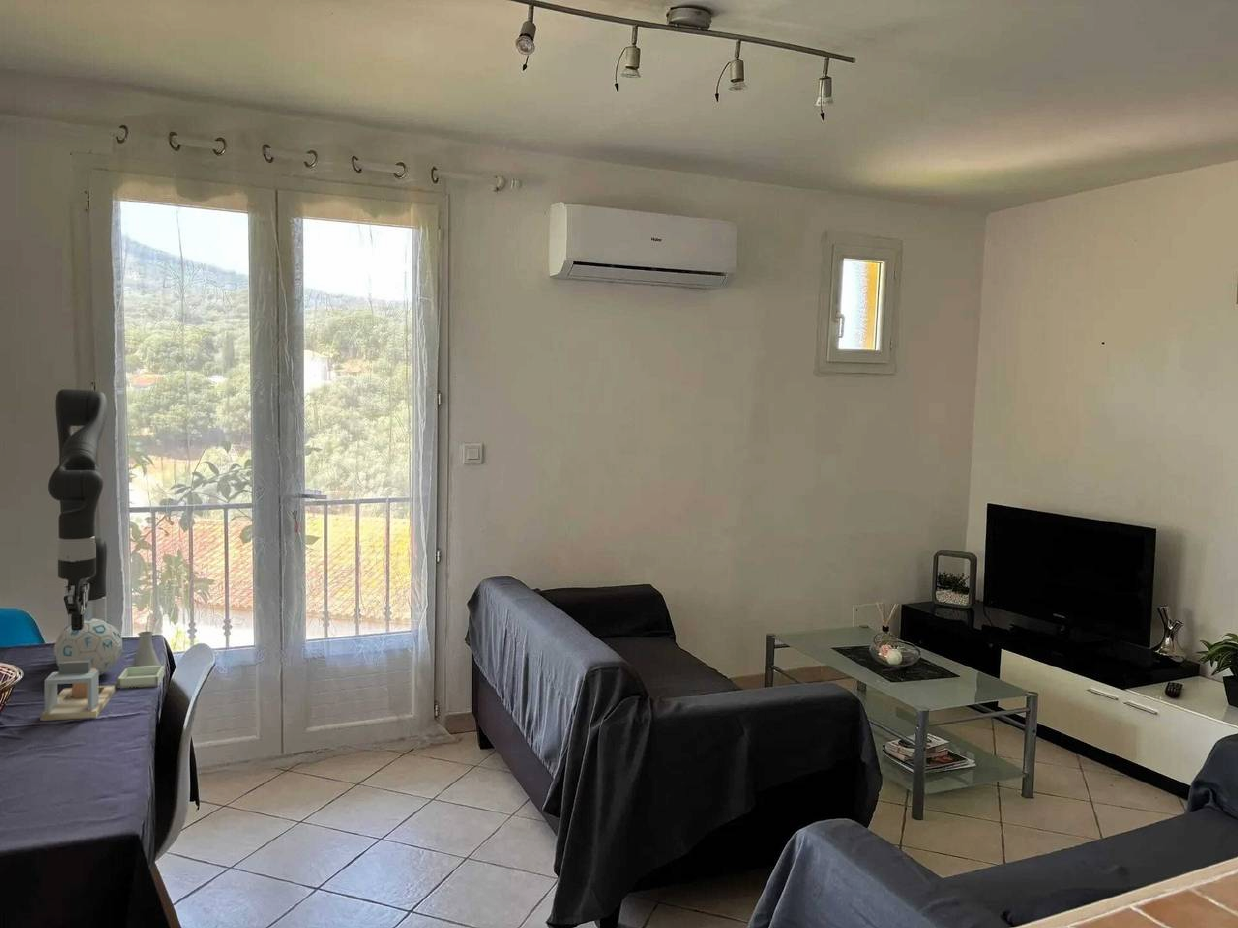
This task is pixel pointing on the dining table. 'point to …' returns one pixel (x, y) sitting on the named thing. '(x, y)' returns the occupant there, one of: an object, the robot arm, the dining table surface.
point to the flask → (145, 652)
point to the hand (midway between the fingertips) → (77, 629)
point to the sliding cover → (72, 674)
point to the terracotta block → (80, 689)
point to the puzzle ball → (90, 645)
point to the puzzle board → (77, 705)
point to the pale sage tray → (141, 677)
